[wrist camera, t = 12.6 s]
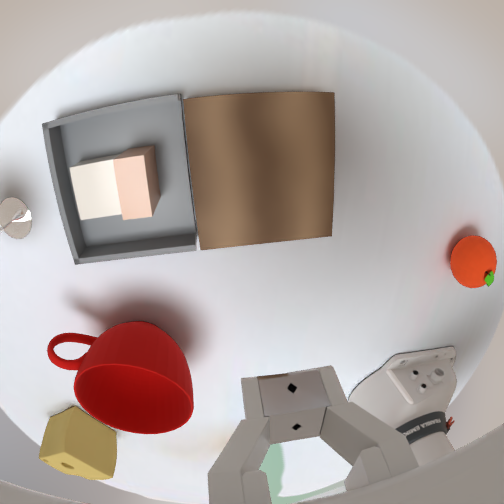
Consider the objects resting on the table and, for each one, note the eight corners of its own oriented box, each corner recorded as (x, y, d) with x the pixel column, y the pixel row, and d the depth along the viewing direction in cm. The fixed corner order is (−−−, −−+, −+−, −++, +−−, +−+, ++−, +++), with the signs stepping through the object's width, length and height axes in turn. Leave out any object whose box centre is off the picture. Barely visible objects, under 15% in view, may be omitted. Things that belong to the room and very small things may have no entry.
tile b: (143, 155, 22) (112, 159, 22) (152, 216, 24) (123, 220, 24) (154, 145, 26) (127, 148, 26) (160, 197, 29) (135, 200, 29)
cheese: (89, 442, 49) (82, 483, 40) (46, 414, 44) (34, 457, 35) (120, 432, 47) (115, 478, 38) (74, 402, 42) (62, 451, 34)
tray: (180, 94, 25) (177, 93, 23) (196, 236, 32) (196, 250, 29) (56, 120, 24) (42, 123, 21) (84, 250, 31) (75, 264, 28)
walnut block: (318, 92, 26) (334, 92, 23) (318, 219, 33) (331, 236, 29) (186, 98, 25) (183, 99, 22) (201, 231, 32) (200, 250, 28)
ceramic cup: (81, 265, 31) (49, 323, 23) (212, 327, 37) (216, 393, 29) (57, 337, 36) (34, 394, 27) (168, 385, 42) (165, 444, 33)
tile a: (69, 167, 24) (79, 161, 26) (80, 220, 26) (89, 210, 28) (120, 157, 24) (127, 152, 26) (130, 213, 27) (135, 203, 29)
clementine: (481, 250, 38) (511, 275, 32) (452, 283, 40) (480, 311, 34) (466, 216, 35) (501, 240, 29) (433, 252, 37) (465, 281, 31)
